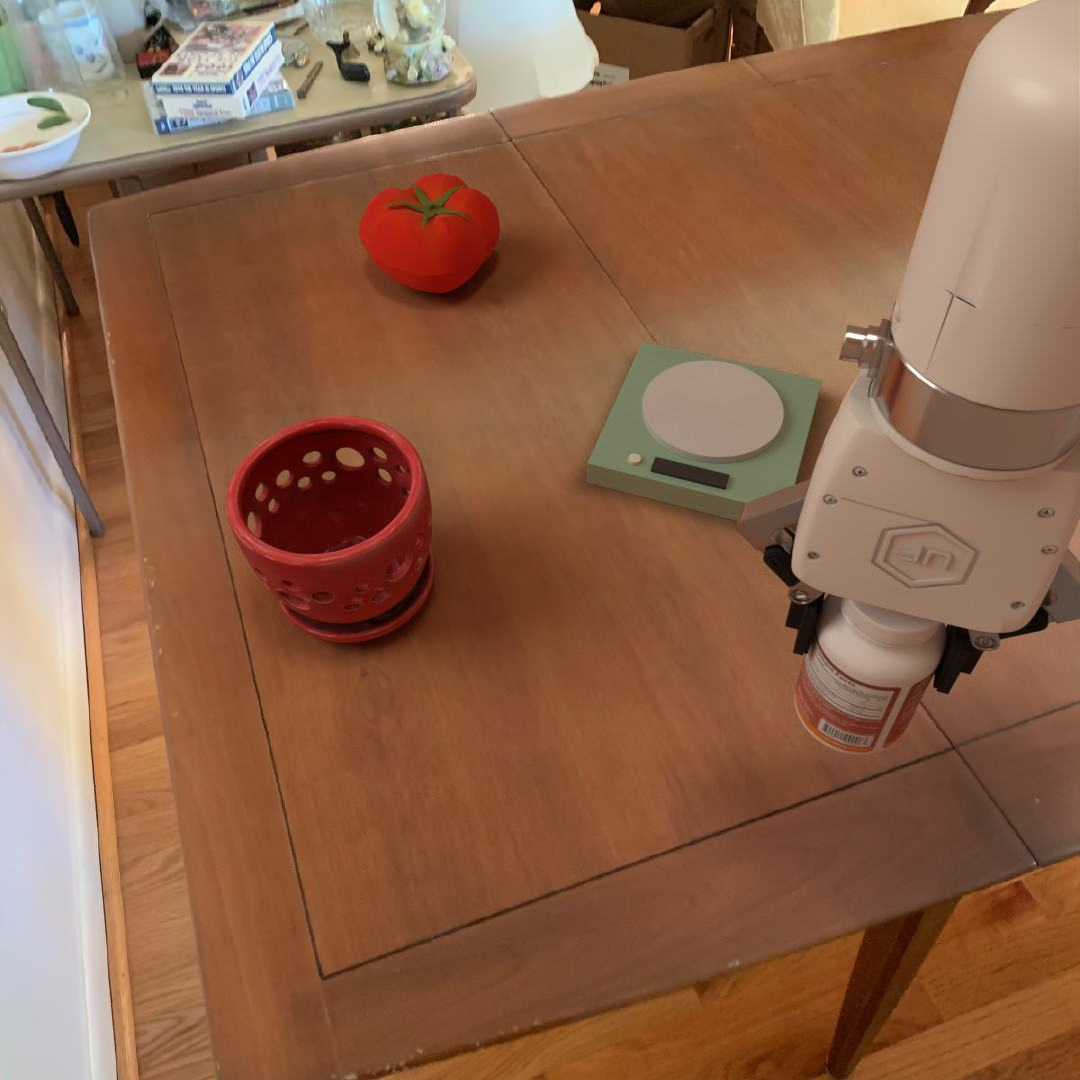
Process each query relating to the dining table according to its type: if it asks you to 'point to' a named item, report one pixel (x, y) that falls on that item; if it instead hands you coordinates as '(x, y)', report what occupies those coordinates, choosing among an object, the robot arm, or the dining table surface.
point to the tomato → (430, 232)
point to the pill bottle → (865, 674)
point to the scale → (703, 431)
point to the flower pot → (337, 527)
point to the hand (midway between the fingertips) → (873, 648)
